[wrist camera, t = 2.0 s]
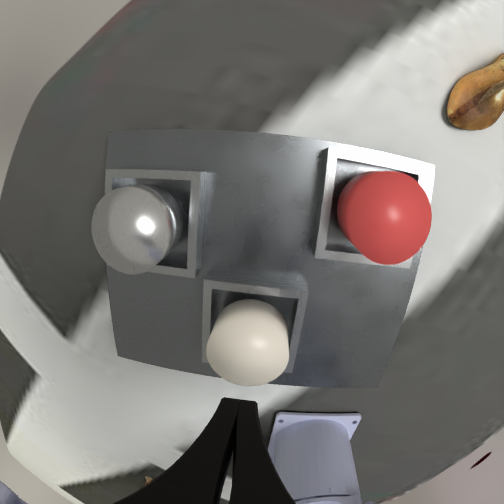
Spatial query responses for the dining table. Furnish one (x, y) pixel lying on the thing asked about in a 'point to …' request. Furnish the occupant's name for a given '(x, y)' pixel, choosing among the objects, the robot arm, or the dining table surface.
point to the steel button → (136, 227)
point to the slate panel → (259, 252)
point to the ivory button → (249, 343)
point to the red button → (385, 215)
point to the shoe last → (478, 98)
